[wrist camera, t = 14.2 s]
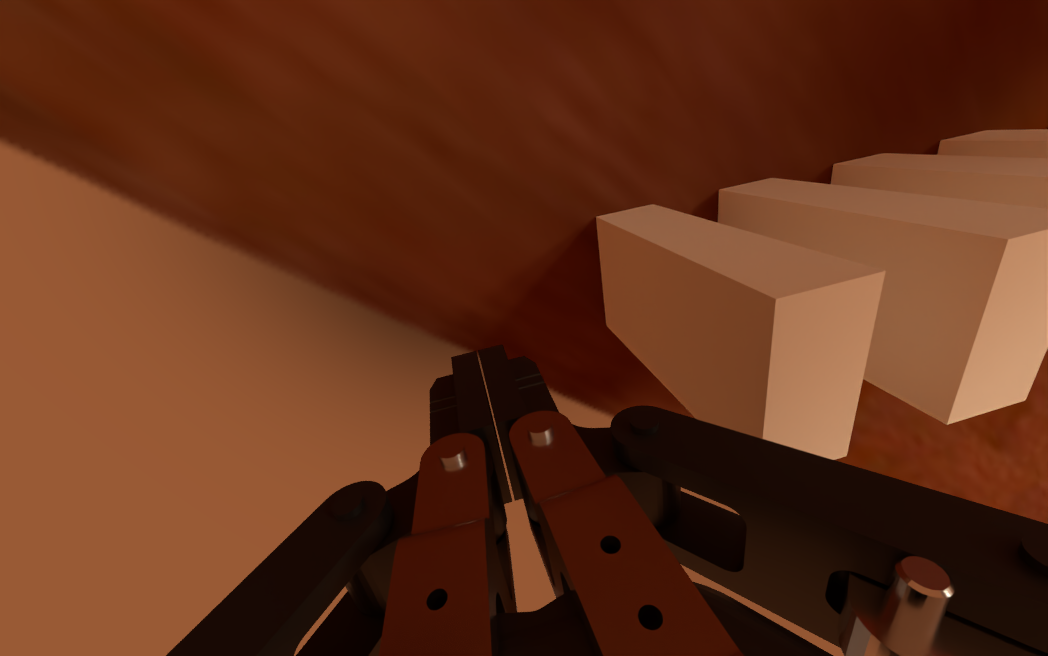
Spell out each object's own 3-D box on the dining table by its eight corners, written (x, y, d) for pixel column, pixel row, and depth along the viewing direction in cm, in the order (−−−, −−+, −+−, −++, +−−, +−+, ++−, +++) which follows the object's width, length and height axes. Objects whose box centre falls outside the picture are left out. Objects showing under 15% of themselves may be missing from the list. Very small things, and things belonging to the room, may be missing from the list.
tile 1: (652, 204, 18) (885, 271, 9) (656, 312, 20) (846, 456, 11) (595, 216, 17) (776, 299, 8) (606, 325, 20) (758, 483, 11)
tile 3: (882, 153, 19) (1292, 165, 10) (863, 260, 21) (1185, 350, 12) (833, 164, 19) (1209, 187, 10) (818, 271, 21) (1115, 372, 12)
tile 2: (771, 177, 18) (1103, 214, 9) (763, 285, 20) (1025, 400, 11) (718, 189, 18) (1008, 239, 9) (715, 298, 20) (946, 424, 11)
